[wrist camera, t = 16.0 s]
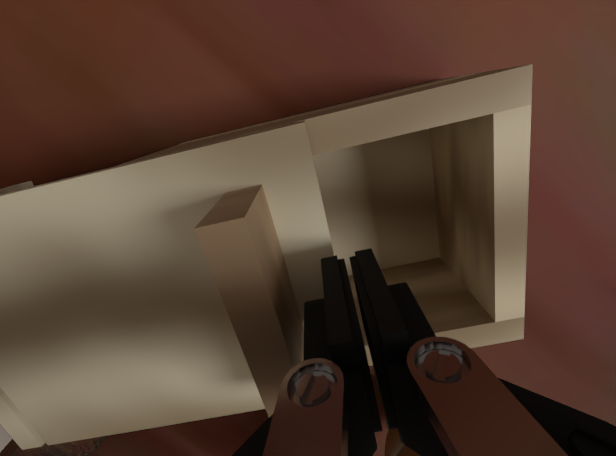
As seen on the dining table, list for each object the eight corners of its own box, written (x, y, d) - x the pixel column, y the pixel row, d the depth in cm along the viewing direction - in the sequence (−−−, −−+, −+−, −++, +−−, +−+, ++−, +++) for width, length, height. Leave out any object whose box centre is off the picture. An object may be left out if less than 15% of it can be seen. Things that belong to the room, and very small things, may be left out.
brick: (66, 447, 27) (20, 514, 23) (23, 424, 26) (-34, 489, 22) (141, 386, 25) (106, 447, 20) (98, 356, 23) (50, 415, 19)
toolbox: (454, 262, 20) (523, 338, 14) (245, 303, 21) (219, 392, 15) (442, 78, 16) (532, 63, 10) (186, 141, 17) (115, 165, 11)
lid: (345, 297, 19) (379, 469, 10) (108, 343, 21) (-46, 532, 12) (305, 113, 15) (303, 131, 6) (14, 184, 17) (-333, 284, 8)
